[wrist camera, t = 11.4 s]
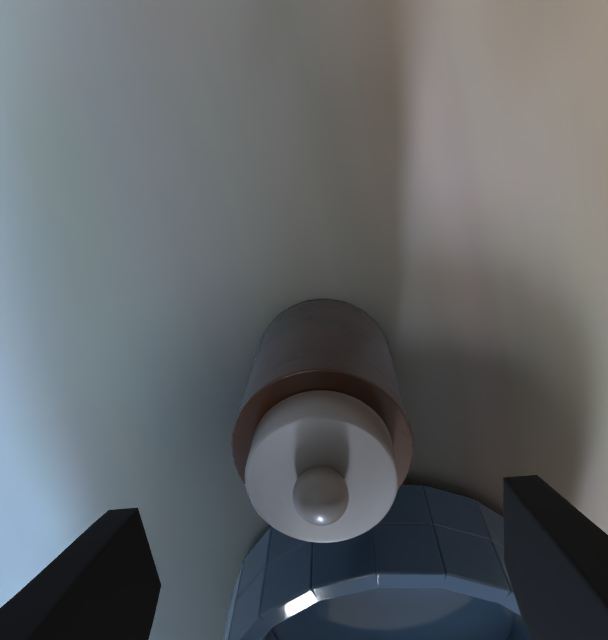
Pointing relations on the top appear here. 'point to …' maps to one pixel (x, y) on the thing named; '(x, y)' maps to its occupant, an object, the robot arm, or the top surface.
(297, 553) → the bowl
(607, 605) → the robot arm
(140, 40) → the top surface
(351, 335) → the pepper mill
